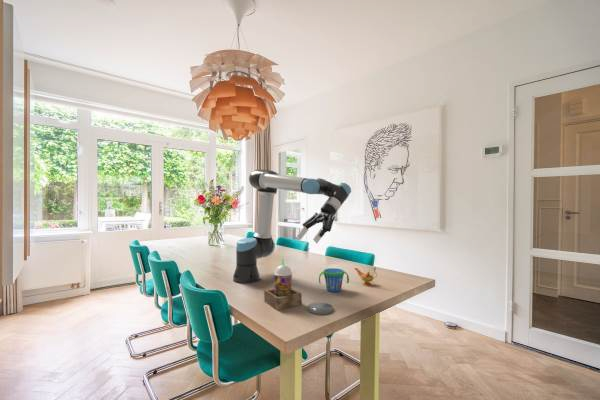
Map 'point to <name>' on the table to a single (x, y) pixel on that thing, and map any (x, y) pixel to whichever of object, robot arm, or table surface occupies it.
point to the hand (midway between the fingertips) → (306, 239)
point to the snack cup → (333, 279)
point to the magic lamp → (365, 277)
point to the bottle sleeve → (282, 299)
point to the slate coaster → (320, 308)
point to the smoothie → (282, 280)
